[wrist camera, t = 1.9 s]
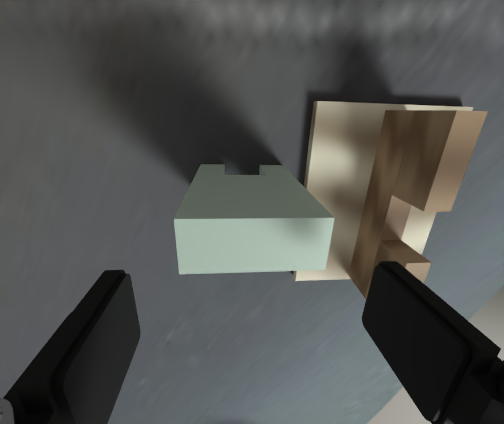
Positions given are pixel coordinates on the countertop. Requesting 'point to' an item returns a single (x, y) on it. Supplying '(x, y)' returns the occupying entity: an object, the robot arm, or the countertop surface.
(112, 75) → the countertop surface
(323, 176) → the slotted base
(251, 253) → the crosspiece
